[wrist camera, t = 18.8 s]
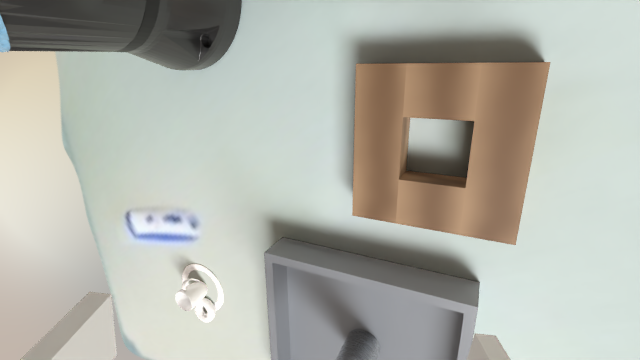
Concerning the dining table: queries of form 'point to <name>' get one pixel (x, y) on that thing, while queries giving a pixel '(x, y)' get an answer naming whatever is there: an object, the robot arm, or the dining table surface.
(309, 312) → the tray
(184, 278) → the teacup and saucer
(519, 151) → the socket block
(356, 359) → the lock pin
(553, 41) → the dining table surface
